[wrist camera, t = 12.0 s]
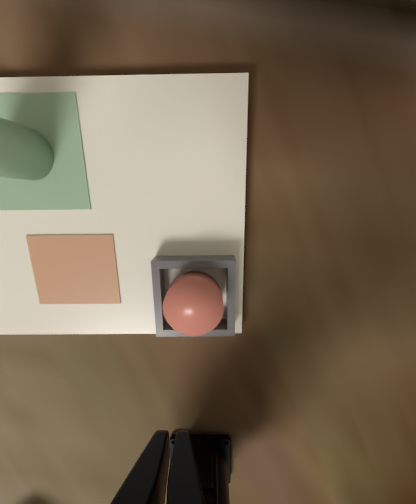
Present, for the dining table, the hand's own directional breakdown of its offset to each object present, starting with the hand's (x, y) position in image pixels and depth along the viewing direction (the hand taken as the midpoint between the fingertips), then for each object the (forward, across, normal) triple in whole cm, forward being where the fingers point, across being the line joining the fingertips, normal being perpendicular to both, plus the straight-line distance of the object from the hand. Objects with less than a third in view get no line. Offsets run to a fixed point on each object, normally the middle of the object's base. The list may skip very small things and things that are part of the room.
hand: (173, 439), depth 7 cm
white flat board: (+13, +7, -6) cm, 16 cm away
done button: (+11, 0, 0) cm, 11 cm away
